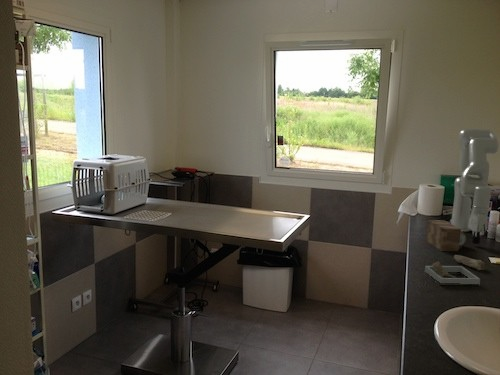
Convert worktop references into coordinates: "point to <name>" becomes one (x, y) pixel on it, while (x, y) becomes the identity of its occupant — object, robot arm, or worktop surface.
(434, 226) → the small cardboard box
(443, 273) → the vertebra
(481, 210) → the robot arm
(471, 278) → the frame
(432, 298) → the worktop surface
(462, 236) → the tin
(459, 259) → the bone fragment
